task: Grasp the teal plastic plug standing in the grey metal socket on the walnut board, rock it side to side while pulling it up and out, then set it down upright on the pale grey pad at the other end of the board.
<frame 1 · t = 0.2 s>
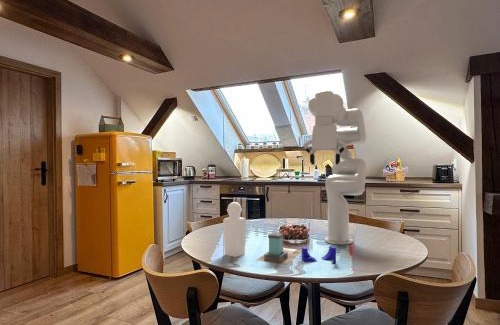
hand: (324, 164, 128), 36 cm above the table, tool pointing down, fingers open, 9 cm apart
plug: (276, 258, 119), point 1 cm above the table, touching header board
cable clip: (319, 264, 117), on the table
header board: (280, 258, 123), on the table
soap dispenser: (234, 258, 125), on the table
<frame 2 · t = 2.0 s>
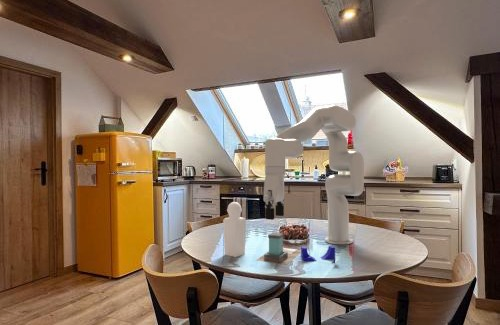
hand: (274, 217, 119), 17 cm above the table, tool pointing down, fingers open, 9 cm apart
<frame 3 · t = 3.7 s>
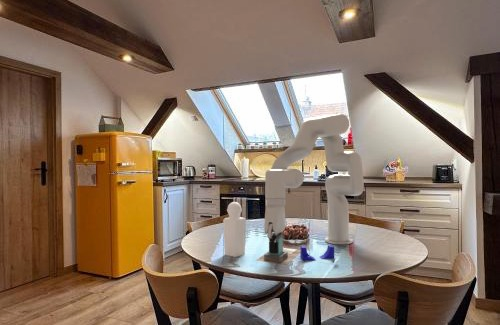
hand: (276, 250, 119), 4 cm above the table, tool pointing down, fingers closed on plug, 4 cm apart
plug: (276, 258, 119), point 2 cm above the table, touching gripper, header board
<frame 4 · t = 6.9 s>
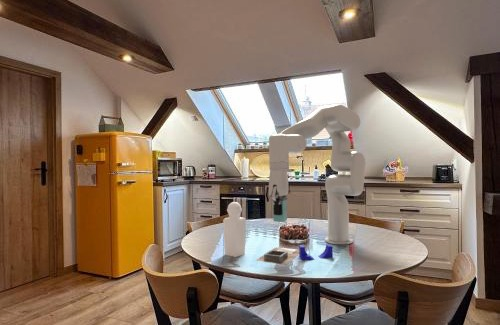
hand: (280, 213, 123), 18 cm above the table, tool pointing down, fingers closed on plug, 4 cm apart
plug: (280, 220, 123), point 15 cm above the table, touching gripper
cable clip: (316, 262, 119), on the table
everything else where it was.
when the fingers open (6 cm above the table, at t = 10.0 s): plug drops 1 cm, resting on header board.
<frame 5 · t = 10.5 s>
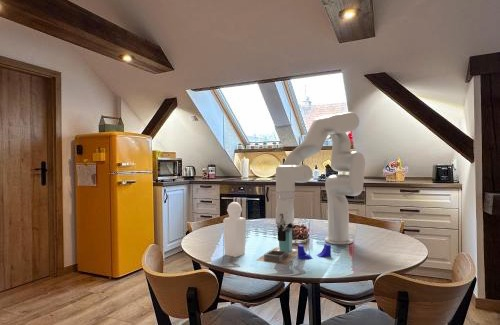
hand: (285, 238, 129), 7 cm above the table, tool pointing down, fingers open, 9 cm apart
plug: (286, 250, 129), point 2 cm above the table, touching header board
cable clip: (314, 261, 121), on the table
everything else where it was.
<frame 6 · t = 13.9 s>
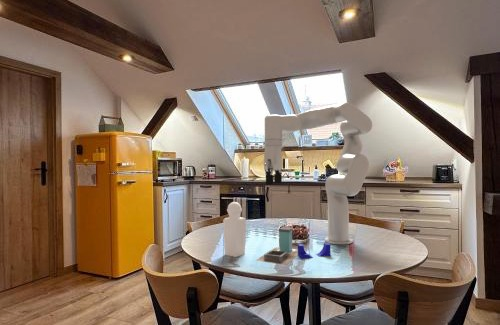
hand: (273, 183, 136), 28 cm above the table, tool pointing down, fingers open, 9 cm apart
at the end: plug inside the target area on the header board (0.3 cm from its centre), point 1.7 cm above the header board's base; plug tilted 0°; the gripper is holding nothing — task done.
